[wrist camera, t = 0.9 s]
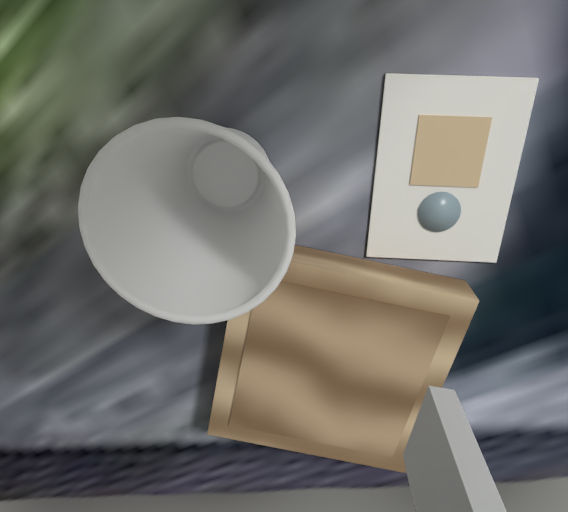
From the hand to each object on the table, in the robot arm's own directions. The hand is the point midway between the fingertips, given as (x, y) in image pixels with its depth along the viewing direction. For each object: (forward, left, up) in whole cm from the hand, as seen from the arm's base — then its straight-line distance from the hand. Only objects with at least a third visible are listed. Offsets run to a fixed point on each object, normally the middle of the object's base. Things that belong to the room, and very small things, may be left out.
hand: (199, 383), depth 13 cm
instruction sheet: (-4, +11, -20) cm, 23 cm away
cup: (-1, -3, -20) cm, 20 cm away
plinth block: (+11, +7, -20) cm, 24 cm away
